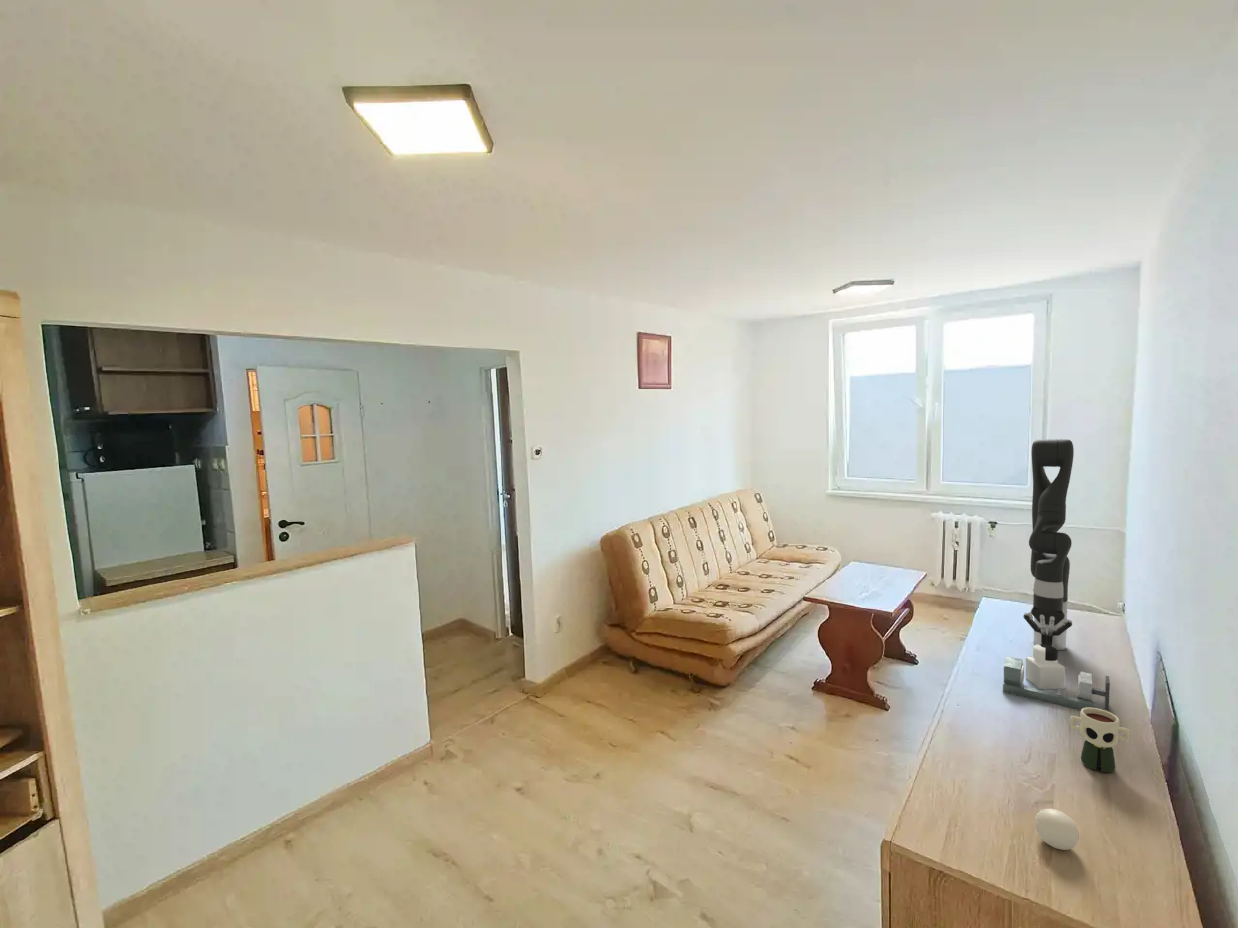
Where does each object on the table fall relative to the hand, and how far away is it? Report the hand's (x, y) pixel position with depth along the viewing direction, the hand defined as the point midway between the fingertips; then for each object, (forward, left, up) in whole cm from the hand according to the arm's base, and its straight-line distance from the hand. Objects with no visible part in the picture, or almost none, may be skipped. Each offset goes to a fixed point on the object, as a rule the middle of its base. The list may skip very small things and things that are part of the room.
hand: (1046, 645), depth 179 cm
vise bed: (+17, +1, -9) cm, 19 cm away
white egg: (+85, +5, -9) cm, 85 cm away
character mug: (+50, +12, -9) cm, 52 cm away
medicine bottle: (+9, 0, -9) cm, 13 cm away
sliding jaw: (+15, +11, -9) cm, 21 cm away
